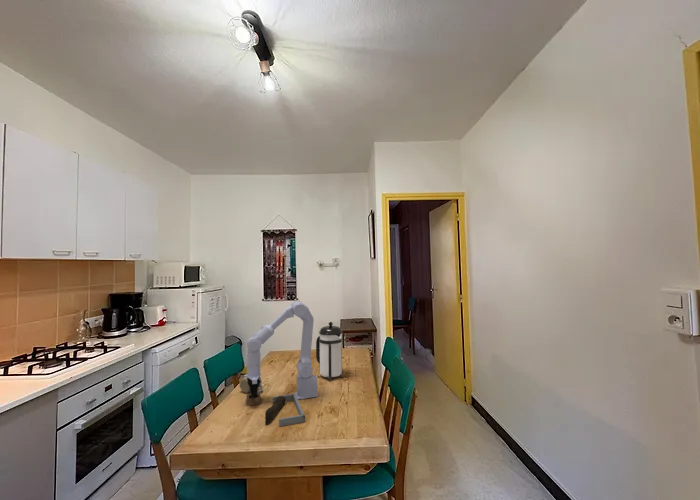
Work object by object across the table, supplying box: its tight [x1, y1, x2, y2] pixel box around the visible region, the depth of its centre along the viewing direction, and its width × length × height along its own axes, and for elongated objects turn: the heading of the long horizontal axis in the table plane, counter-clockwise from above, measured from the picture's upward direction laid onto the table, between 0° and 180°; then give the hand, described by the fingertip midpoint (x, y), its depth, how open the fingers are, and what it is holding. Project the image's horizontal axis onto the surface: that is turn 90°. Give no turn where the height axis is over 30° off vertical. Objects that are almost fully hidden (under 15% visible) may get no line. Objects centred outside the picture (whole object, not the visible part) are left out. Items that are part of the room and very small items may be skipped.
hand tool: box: [264, 395, 286, 425], centre depth 132 cm, size 19×4×5 cm, turn 172°
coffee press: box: [315, 321, 345, 382], centre depth 177 cm, size 17×16×30 cm
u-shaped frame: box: [272, 393, 306, 427], centre depth 134 cm, size 10×23×2 cm, turn 20°
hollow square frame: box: [245, 393, 262, 407], centre depth 144 cm, size 6×6×2 cm
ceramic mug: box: [239, 376, 264, 394], centre depth 156 cm, size 11×8×8 cm
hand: (253, 394), depth 144 cm, fingers closed on rod, 3 cm apart
